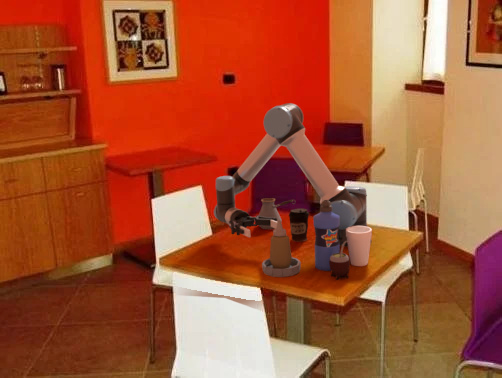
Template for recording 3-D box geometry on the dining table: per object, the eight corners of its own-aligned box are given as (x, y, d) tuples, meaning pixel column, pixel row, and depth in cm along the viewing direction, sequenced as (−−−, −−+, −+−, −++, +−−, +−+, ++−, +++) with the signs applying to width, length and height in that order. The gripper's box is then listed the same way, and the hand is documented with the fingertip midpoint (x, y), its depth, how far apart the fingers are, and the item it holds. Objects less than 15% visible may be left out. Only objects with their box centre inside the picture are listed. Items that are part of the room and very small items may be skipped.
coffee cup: (308, 243, 249) (307, 213, 246) (288, 243, 251) (287, 212, 248) (310, 236, 258) (309, 207, 255) (291, 236, 259) (290, 207, 256)
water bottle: (344, 268, 219) (343, 201, 213) (320, 272, 216) (319, 204, 211) (334, 260, 227) (332, 196, 222) (311, 264, 225) (309, 199, 219)
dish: (303, 264, 225) (303, 257, 224) (296, 277, 212) (296, 270, 212) (267, 263, 229) (267, 255, 228) (258, 276, 216) (258, 268, 215)
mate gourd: (333, 272, 216) (332, 232, 213) (354, 275, 212) (354, 234, 209) (326, 279, 210) (325, 238, 206) (348, 282, 206) (347, 240, 203)
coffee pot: (251, 228, 275) (249, 196, 272) (268, 222, 283) (267, 191, 280) (286, 236, 260) (285, 202, 257) (303, 229, 268) (302, 196, 265)
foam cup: (343, 266, 221) (342, 232, 218) (349, 257, 230) (348, 225, 227) (369, 268, 218) (369, 233, 215) (374, 260, 226) (374, 226, 223)
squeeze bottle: (285, 273, 215) (283, 224, 211) (266, 270, 219) (263, 222, 215) (296, 266, 222) (294, 218, 218) (277, 263, 226) (274, 216, 222)
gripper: (264, 221, 251) (293, 233, 233) (211, 233, 240) (236, 246, 221) (263, 204, 250) (292, 214, 232) (209, 215, 238) (235, 226, 220)
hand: (265, 230), depth 227 cm, fingers open, 13 cm apart
